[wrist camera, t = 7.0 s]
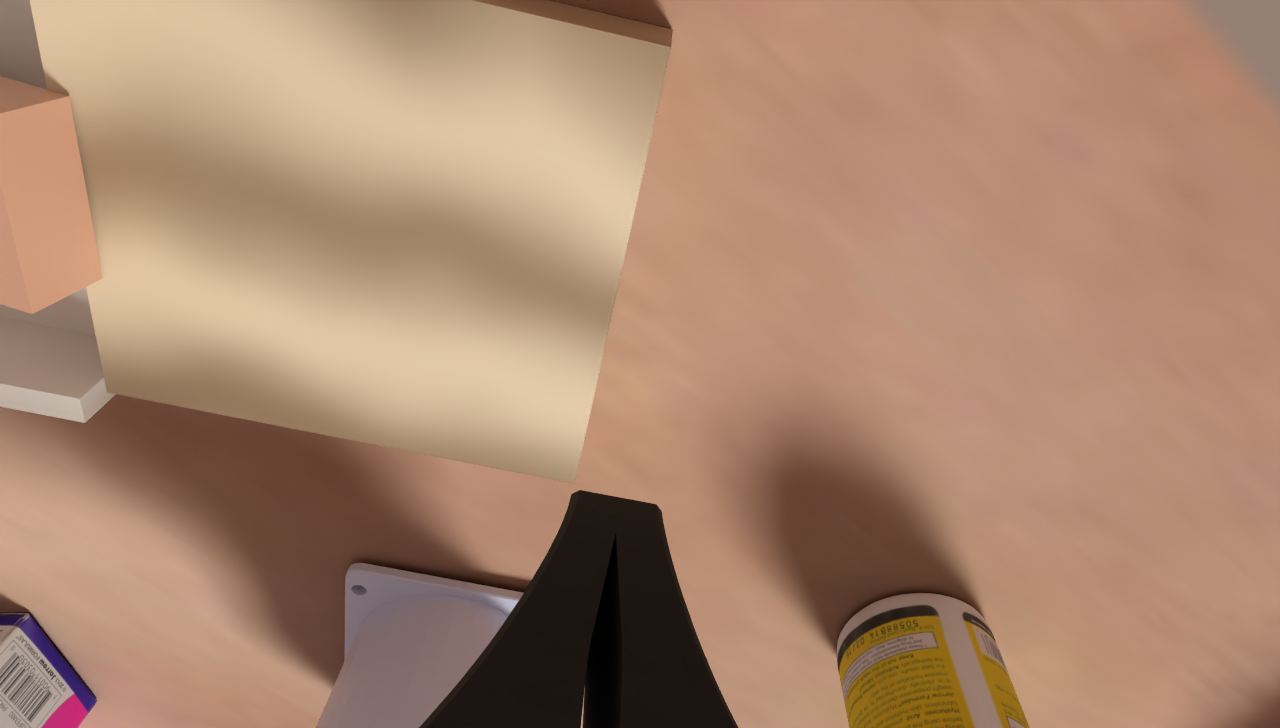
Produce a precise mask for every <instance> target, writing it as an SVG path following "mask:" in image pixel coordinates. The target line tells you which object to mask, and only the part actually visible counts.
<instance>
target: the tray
mask: <svg viewBox="0 0 1280 728" xmlns="http://www.w3.org/2000/svg"><path fill="white" fill-rule="evenodd" d="M0 76H3V77H6V78H10V79H13V80H16V81H20V82H23V83H27V84H30V85H33V86H37V87H40V88H44V89H47V86H46V81H45V76H44V71H43V66H42V61H41V56H40V50H39V45H38V40H37V35H36V30H35V25H34V20H33V15H32V10H31V5H30V0H0ZM115 395H116V394H112V393H107V391H106V386H105V380H104V375H103V370H102V365H101V360H100V355H99V350H98V345H97V340H96V335H95V330H94V325H93V320H92V314H91V309H90V304H89V299H88V294H87V289H86V287H85V288H83V289H81V290H79V291H77V292H75V293H73V294H71V295H69V296H67V297H65V298H63V299H61V300H59V301H57V302H55V303H53V304H51V305H49V306H47V307H45V308H44V309H42V310H40V311H38V312H36V313H34V314H30V313H27V312H24V311H21V310H17V309H14V308H11V307H8V306H5V305H2V304H0V407H4V408H10V409H15V410H20V411H25V412H30V413H36V414H41V415H46V416H51V417H56V418H62V419H67V420H72V421H77V422H82V423H86V422H87V421H88V420H89V419H90V418H91V417H92V416H93V415H94V414H95V413H96V412H97V411H98V410H100V409H101V408H102V407H103V406H104V405H105V404H106V403H107V402H108V401H109V400H110V399H111V398H112V397H114V396H115Z"/></svg>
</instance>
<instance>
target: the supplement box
mask: <svg viewBox="0 0 1280 728" xmlns="http://www.w3.org/2000/svg"><path fill="white" fill-rule="evenodd" d="M96 702H97V700H96V698H95V697H94V695H93V694H92V693H91V692H90V690H89V689H88V688H87V687H86V686H85V684H84V683H83V682H82V681H81V679H80V678H79V677H78V676H77V674H76V673H75V672H74V671H73V669H72V668H71V667H70V666H69V664H68V663H67V662H66V661H65V659H64V658H63V657H62V655H61V654H60V653H59V652H58V651H57V649H56V648H55V647H54V645H53V644H52V643H51V642H50V640H49V639H48V638H47V636H46V635H45V634H44V632H43V631H42V630H41V629H40V627H39V626H38V625H37V623H36V622H35V621H34V620H33V618H32V617H31V616H30V615H29V614H28V613H1V614H0V728H78V727H79V725H80V724H81V723H82V721H83V720H84V718H85V717H86V716H87V714H88V713H89V711H90V710H91V709H92V707H93V706H94V705H95V703H96Z"/></svg>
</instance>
